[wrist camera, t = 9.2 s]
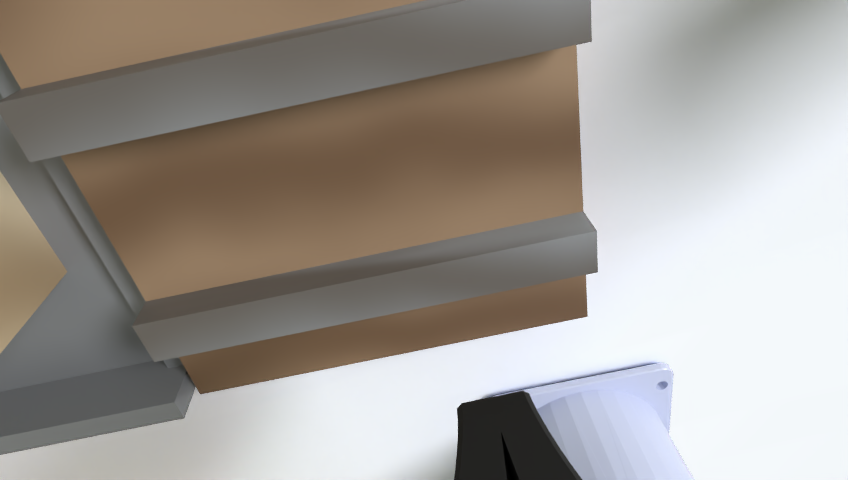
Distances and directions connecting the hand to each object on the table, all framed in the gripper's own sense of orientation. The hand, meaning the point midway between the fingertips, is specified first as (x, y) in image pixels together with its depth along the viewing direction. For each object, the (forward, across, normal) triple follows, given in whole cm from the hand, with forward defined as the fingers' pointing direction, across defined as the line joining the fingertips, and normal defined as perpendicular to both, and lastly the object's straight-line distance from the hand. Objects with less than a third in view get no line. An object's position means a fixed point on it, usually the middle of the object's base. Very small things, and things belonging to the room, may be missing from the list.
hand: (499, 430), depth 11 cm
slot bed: (+9, +3, -3) cm, 10 cm away
